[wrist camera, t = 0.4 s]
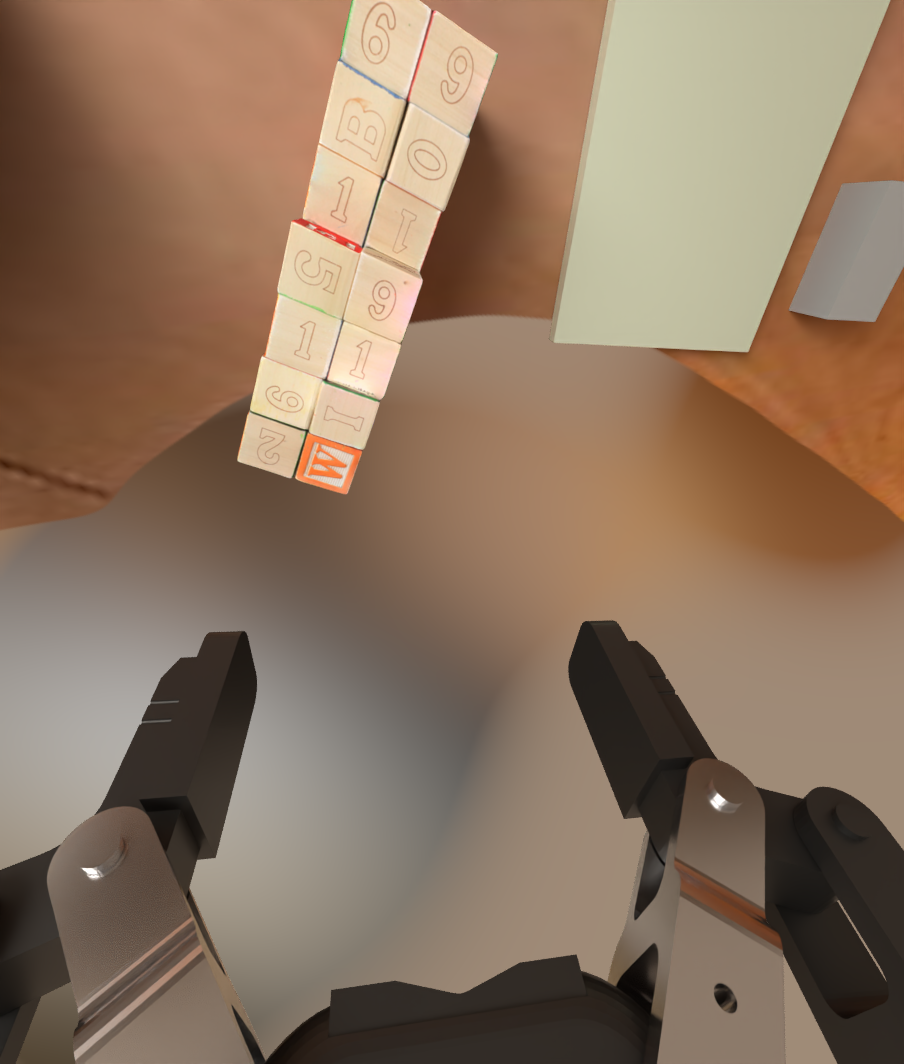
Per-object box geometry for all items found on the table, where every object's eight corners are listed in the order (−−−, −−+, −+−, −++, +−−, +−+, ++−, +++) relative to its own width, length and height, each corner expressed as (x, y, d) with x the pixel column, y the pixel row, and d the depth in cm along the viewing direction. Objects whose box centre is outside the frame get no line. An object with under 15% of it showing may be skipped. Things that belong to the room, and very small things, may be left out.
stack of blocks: (368, 30, 25) (359, -90, 15) (470, 97, 27) (522, 31, 17) (275, 392, 35) (233, 464, 25) (355, 421, 38) (346, 499, 27)
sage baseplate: (619, -65, 25) (629, -76, 24) (881, -17, 27) (900, -26, 26) (548, 339, 36) (553, 342, 35) (738, 348, 38) (748, 352, 37)
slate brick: (840, 183, 32) (891, 180, 29) (889, 188, 33) (946, 185, 30) (786, 310, 37) (826, 319, 34) (831, 312, 37) (874, 321, 34)
